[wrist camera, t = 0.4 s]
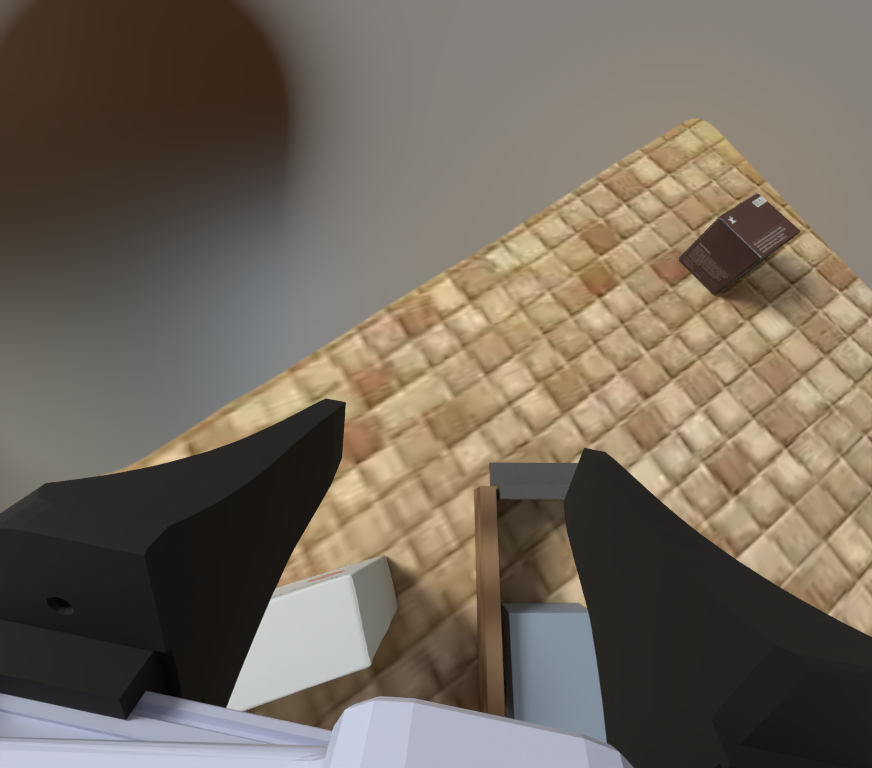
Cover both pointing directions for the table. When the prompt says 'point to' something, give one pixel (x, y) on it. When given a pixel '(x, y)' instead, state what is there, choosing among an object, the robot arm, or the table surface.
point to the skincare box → (317, 632)
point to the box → (737, 243)
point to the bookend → (531, 480)
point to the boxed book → (552, 667)
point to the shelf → (488, 603)
